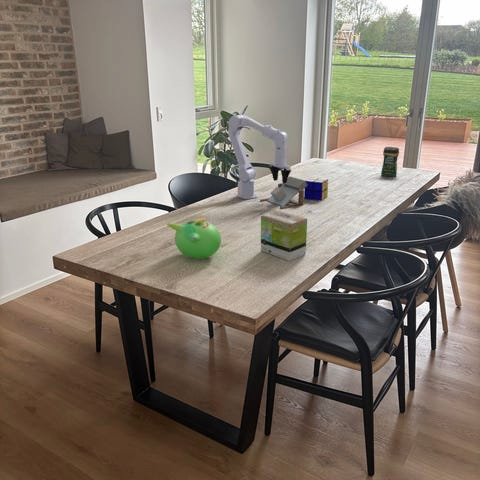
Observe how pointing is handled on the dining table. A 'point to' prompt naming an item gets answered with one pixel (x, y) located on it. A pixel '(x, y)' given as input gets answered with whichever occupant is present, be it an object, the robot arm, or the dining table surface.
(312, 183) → the puzzle cube
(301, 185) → the trapdoor
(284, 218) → the tea box
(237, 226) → the dining table surface
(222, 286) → the dining table surface
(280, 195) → the grey cube
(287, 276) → the dining table surface
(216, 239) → the toy bird
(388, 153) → the coffee jar
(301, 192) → the frame
